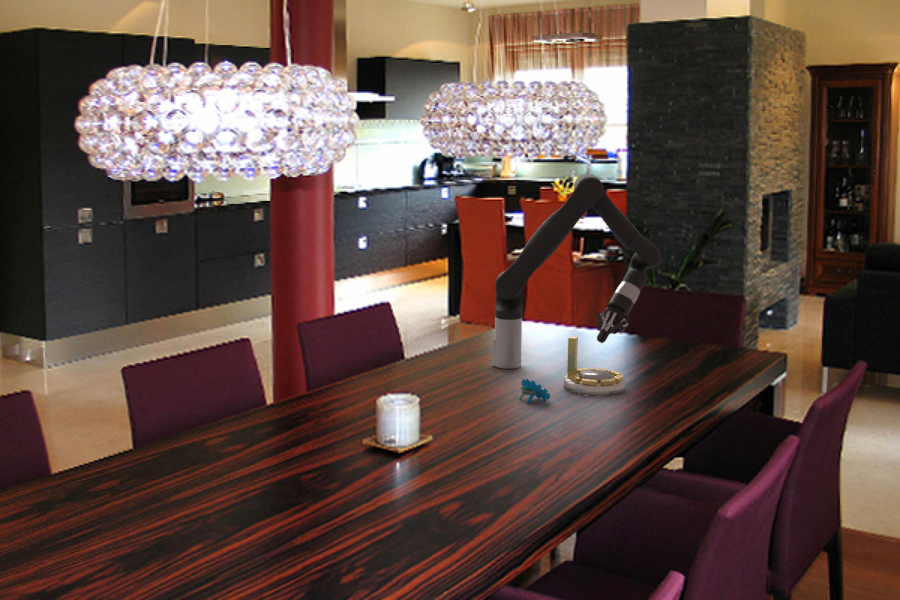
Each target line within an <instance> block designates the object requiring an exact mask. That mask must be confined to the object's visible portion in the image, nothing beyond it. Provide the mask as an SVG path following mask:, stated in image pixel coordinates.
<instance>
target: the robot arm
mask: <svg viewBox="0 0 900 600" xmlns="http://www.w3.org/2000/svg"><path fill="white" fill-rule="evenodd" d="M591 208H592V209H593V210H594V211H595V212H596V213H597V215H598V216H599V217H600V218H601V219H602V221H603V222H604V224H605V225H606V226H607V227H608V229H609V230H610V231H611V233H612V235H613V236H614V237H615V238H616V239H617V240H618V241H619V243H620V244H621V245H622V246H623V248H625V249H626V250H629V251H633V252H634V254H633V255H632V257H631V260H630V263H629V265H628V270H627V272H626V274H625V275H624V277H623V279H622V280H621V281H620V284H619V285H618V286H617V287H616V290H615V291H614V293H613V295H612V296H611V298H610V300H609V302H608V305H607V307H606V308H605V309H604V310H603V312H599V311H597V312H596V313H595V316H596V323H597V327H598V328H599V332H598V334H597V336H596V340H597V342H599V343H601V344H604V343H605V342H606V341H607V339H608V338H609V336H610V335H612V334H613V335H616V334H618V333H619V332H622V331H623V330H625V329H627V328H628V327H629V326H630V324H629V323H628V322H627V316H628V315H629V314H630V312H631V311H632V308H633V307H634V305H635V303H636V302H637V300H638V298H639V296H640V293H641V291H642V290H643V288H644V286H645V285H646V282H647V275H646V273H647V271H648V270H649V269H652V268H656V267H658V266H659V265H660V264H662V263H661V262H662V258H663V257H662V254H661V251H660V250H659V248H658V247H657V246H656V245H655V244H654V243H653V242H651V241H650V240H649V239H648V238H646V237H645V236H644V235H642V234H641V232H640V231H639V230H638V229H637V228H636V226H635V225H634V224H633V223H632V221H630V220H629V218H628V217H627V216H626V215H625V214H624V213H623V212H622V211H621V210H620V209H619V208H618V207H617V206H616V205H615V203H614V202H613V201H612V200H611V198H610V197H609V196H608V194H607V192H606V191H605V189H604V185H603V183H602V180H600V179H599V177H598V176H597V175H595V174H593V173H583V174H580V175H579V176H578V177H577V178H576V180H575V181H574V185H573V191H572V192H571V194H570V196H569V197H568V198H567V200H565V202H564V203H563V205H562V206H561V207H560V208H558V209H557V210H556V211H554V213H552V214H551V215H550V216H548V217H547V218H545V220H544V221H543V222H542V223H541V224H540V226H539V227H538V228H537V229H536V230H535V232H534V233H533V234H532V235H531V237H530V238H529V239H528V240H527V241H528V242H527V243H526V244H525V246H524V248H523V249H522V251H521V252H520V254H519V255H518V257H517V258H516V259H515V260H514V261H513V263H512V264H511V265H510V266H509V267H508V268H507V269H506V270H504V271H502V272H500V273H499V274H498V276H497V278H496V280H495V282H494V289H495V290H494V291H495V294H496V295H495V298H496V299H495V310H494V313H495V314H494V338H492V340H491V341H492V346H491V347H492V350H491V352H492V353H491V354H492V355H491V356H492V357H491V366H493V367H495V368H499V369H504V370H505V369H506V370H512V369H513V370H514V369H518V368H521V366H522V336H523V335H522V333H523V331H522V330H523V329H522V328H523V327H522V326H523V306H524V305H523V303H524V302H523V300H524V287H525V285H526V284H527V282H528V281H529V279H530V278H531V277H532V275H533V274H534V273H535V272H536V271H537V269H538V268H540V267H541V266H542V265H543V264H544V263H545V262H546V261H547V260H548V259H549V258H550V257H551V256H552V255H553V254H554V252H556V250H557V249H558V248H559V246H561V244H562V243H563V242H564V240H566V238H567V237H568V236H569V234H570V233H571V232H572V231H573V229H574V227H575V226H576V225H577V223H578V222H579V221H580V219H582V217H583V216H584V215H585V214H586V213H588V211H589V210H591Z"/></svg>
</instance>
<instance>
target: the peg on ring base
mask: <svg viewBox="0 0 900 600" xmlns="http://www.w3.org/2000/svg"><path fill="white" fill-rule="evenodd" d="M578 342H579V337H578V336H569V337H568V338H567V365H566V367H567V368H566V369H567V370H566V371H567V377H568V379H569V380H571V381H573V382H576V383H578V382H581V384H587V385H597V384H598V380H590V379H582V380H581V378H579V377H577V376H576V375H577V374H579V372H580V371H583V370H591V368H589V367H583V368H578V348H579V347H578V345H579V343H578ZM592 369H594V370H604V371H608V372H610V373H611V376H613V377H615V378H614V379H607V380H600V384H601V385H611V384H616V382H618V383H620V382H621V381H622V379H623V378H624V376H623V374H622V373H621V372H619V371H616V370H609V369H608V368H601V367H600V368H599V367H593V368H592Z"/></svg>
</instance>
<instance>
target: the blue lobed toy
mask: <svg viewBox="0 0 900 600" xmlns="http://www.w3.org/2000/svg"><path fill="white" fill-rule="evenodd" d="M520 385H521V387H520V390H521V392H520V393H521V394H520V396H519V397H518V400H520V401H521V400H522V399H523V397H524V396H529V397H528V398H527V400H526V401H525V402H526V403H527V404H528V405H529V404H530V403H531V401H532V400H533V398H534V397H536V398H537V399H542V400H543V401H549V400H550V398H551V393H549V392H548V389H546V388H542V387H543V386H542V385H541V384H540V383H538V384H537V383H536V381H534V380H529V379H528V378H526V379H524V378H522V380H521V383H520Z"/></svg>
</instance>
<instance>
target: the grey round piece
mask: <svg viewBox="0 0 900 600" xmlns="http://www.w3.org/2000/svg"><path fill="white" fill-rule="evenodd" d="M590 369H591V368H590ZM576 376H577V377H579V378H581V380H582V379H590V380H598V384H597V385H587V384H581V382H578V383H576V382H573V381H571V380H569V379H568V377H567V375H565V376H564V377H563V387H564V386H565V387H564V389H565V390H566V391H567V390H568V391H570V392H569V393H571V392H572V393H571V394H574V393H576V394H575V395H577V394H580V395H579V396H583V395H588V396H587V397H592V396H607V397H613V396H612V395H615V396H619V395H621V393H622V394H623V393H625V392H626V380H625V378H624V377H623V379H622V381H621V382H620V383H618V382H616V384H611V385H601V384H600V380H607V379H614V378H615V377H613V376H611V373H610V372H609V370H608V371H604V370H594V369H593V368H592V369H591V370H583V371H580V372H579V374H577V375H576ZM568 391H567V392H568ZM618 394H619V395H618Z"/></svg>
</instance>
